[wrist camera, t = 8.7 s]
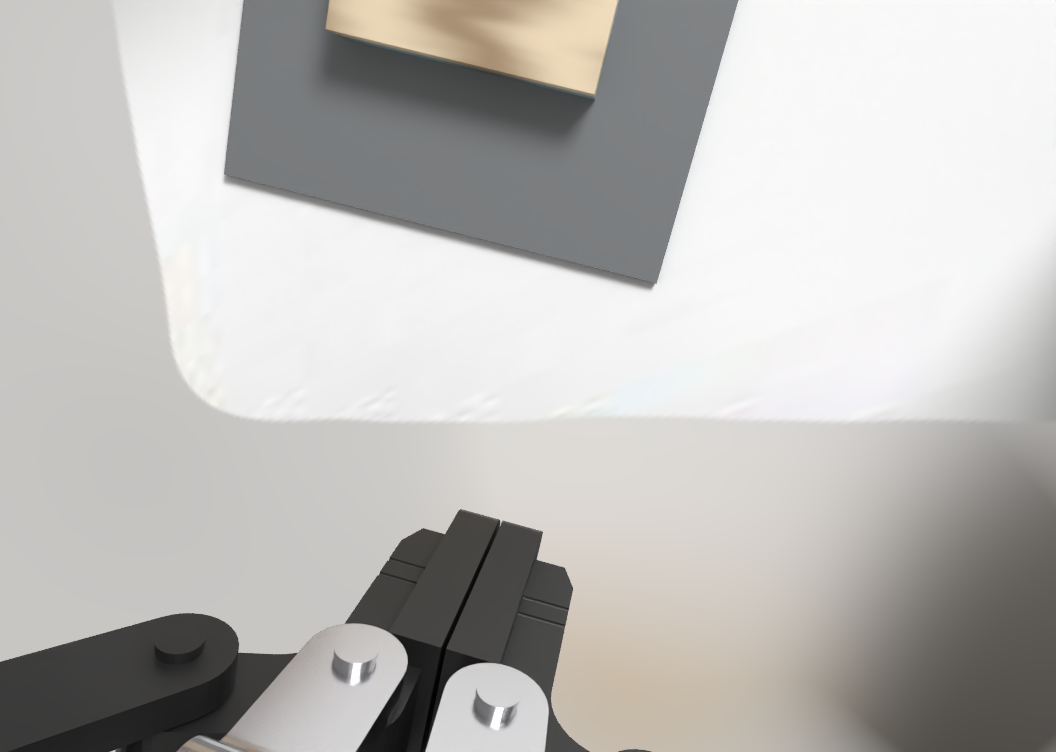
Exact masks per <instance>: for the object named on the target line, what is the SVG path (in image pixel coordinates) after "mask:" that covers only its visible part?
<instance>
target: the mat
mask: <svg viewBox="0 0 1056 752" xmlns="http://www.w3.org/2000/svg"><path fill="white" fill-rule="evenodd" d="M329 1H330V0H244V4H243V13H242V22H241V30H240V39H239V48H238V57H237V66H236V75H235V83H234V92H233V101H232V110H231V119H230V128H229V136H228V145H227V154H226V163H225V172H224V174H225V175H229V176H233V177H237V178H241V179H245V180H248V181H252V182H256V183H260V184H264V185H268V186H272V187H276V188H280V189H284V190H288V191H292V192H296V193H300V194H304V195H308V196H312V197H316V198H320V199H324V200H328V201H332V202H336V203H340V204H344V205H348V206H351V207H355V208H359V209H363V210H367V211H371V212H375V213H379V214H383V215H387V216H391V217H395V218H399V219H403V220H407V221H411V222H415V223H419V224H423V225H427V226H431V227H435V228H439V229H443V230H447V231H451V232H455V233H458V234H462V235H466V236H470V237H474V238H478V239H482V240H486V241H490V242H494V243H498V244H502V245H506V246H510V247H514V248H518V249H522V250H526V251H530V252H534V253H538V254H542V255H546V256H550V257H554V258H558V259H561V260H565V261H569V262H573V263H577V264H581V265H585V266H589V267H593V268H597V269H601V270H605V271H609V272H613V273H617V274H621V275H625V276H629V277H633V278H637V279H641V280H645V281H649V282H653V283H657V280H658V277H659V273H660V270H661V266H662V263H663V259H664V256H665V252H666V249H667V245H668V242H669V238H670V235H671V232H672V228H673V225H674V221H675V218H676V214H677V211H678V207H679V204H680V200H681V197H682V193H683V190H684V186H685V183H686V180H687V176H688V173H689V169H690V166H691V162H692V159H693V155H694V152H695V148H696V145H697V141H698V138H699V135H700V131H701V128H702V124H703V121H704V117H705V114H706V110H707V107H708V103H709V100H710V96H711V93H712V90H713V86H714V83H715V79H716V76H717V72H718V69H719V65H720V62H721V58H722V55H723V51H724V48H725V44H726V41H727V38H728V34H729V31H730V27H731V24H732V20H733V17H734V13H735V10H736V6H737V3H738V0H620V2H619V6H618V10H617V14H616V18H615V23H614V27H613V31H612V35H611V39H610V43H609V47H608V51H607V55H606V59H605V63H604V67H603V71H602V75H601V79H600V83H599V87H598V91H597V95H596V100H594V99H590V98H586V97H581V96H577V95H573V94H569V93H565V92H561V91H557V90H553V89H549V88H544V87H540V86H536V85H532V84H528V83H524V82H520V81H516V80H511V79H507V78H503V77H499V76H495V75H491V74H487V73H483V72H479V71H474V70H470V69H466V68H462V67H458V66H454V65H450V64H446V63H441V62H437V61H433V60H429V59H425V58H421V57H417V56H413V55H409V54H404V53H400V52H396V51H392V50H388V49H384V48H380V47H376V46H371V45H367V44H363V43H359V42H355V41H351V40H347V39H344V38H342V37H340V36H338V35H336V34H334V33H332V32H330V31H328V30H326V29H325V28H326V21H327V14H328V7H329Z"/></svg>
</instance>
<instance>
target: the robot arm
mask: <svg viewBox="0 0 1056 752" xmlns="http://www.w3.org/2000/svg"><path fill="white" fill-rule="evenodd" d="M499 527H500V528H499ZM542 533H543V532H542V531H539V530H534V529H531V528H527V527H524V526H520V525H517V524H513V523H509V522H506V521H503V522H502V523H501V526H500V520H498V519H494V518H491V517H487V516H484V515H480V514H476V513H473V512H469V511H466V510H462V509H460V510H459V511H458V513H457V515H456V516H455V518H454V520H453V522H452V523H451V525H450V527H449V529H448V530H447V532H446V534H442V533H438V532H434V531H430V530H427V529H424V528H423V529H421V530H419V531H418V532H416V533H414V534H412V535H410V536H408V537H407V538H405V539H403V540H401V542H400V543H399V545H398V546H397V548H396V549H395V551H394V552H393V554H392V555H391V557H390V559H389V561H387V562H386V564H385V565H384V567H383V568H382V570H381V571H380V574H379V576H377V577H376V579H375V580H374V582H373V583H372V584H371V586H370V588H369V589H368V590H367V592H366V593H365V595H364V596H363V598H362V599H361V600H360V602H359V603H358V605H357V606H356V608H355V610H354V611H353V612H352V614H351V615H350V617H349V618H348V620H347V621H346V623H345V624H341V625H336V626H333V627H330V628H327V629H325V630H323V631H320V632H319V633H317V634H316V635H314V636H313V637H312V638H311V639H310V640H309V641H308V642H307V643H306V645H304V647H303V648H302V649H301V650H300V651H299V652H298V653H294V654H254V653H238V649H239V642H238V637H237V635H236V633H235V631H234V630H233V629H232V628H231V627H230V626H229V625H228V624H226V623H225V622H223V621H221V620H219V619H217V618H214V617H212V616H208V615H203V614H194V613H192V614H190V613H187V614H186V613H185V614H174V615H169V616H165V617H160V618H157V619H153V620H150V621H146V622H142V623H139V624H135V625H132V626H128V627H124V628H121V629H117V630H114V631H110V632H107V633H103V634H100V635H96V636H92V637H89V638H85V639H81V640H78V641H74V642H71V643H67V644H63V645H60V646H56V647H53V648H49V649H45V650H42V651H38V652H35V653H31V654H27V655H24V656H20V657H16V658H13V659H9V660H5V661H2V662H0V752H110V751H113V750H115V749H116V752H589V751H588V750H586V749H585V748H583V747H582V746H580V745H579V744H577V743H576V742H575V741H574V740H573V739H572V738H571V737H569V736H568V734H567V733H566V732H565V731H564V730H563V729H562V727H561V726H560V724H559V723H558V721H557V719H556V717H555V715H554V712H553V709H552V706H551V691H552V686H553V682H554V676H555V672H556V667H557V663H558V658H559V653H560V648H561V643H562V639H563V634H564V628H565V625H566V620H567V615H568V610H569V605H570V600H571V596H572V591H573V587H572V585H571V583H570V580H569V577H568V575H567V572H566V570H565V568H563V567H559V566H556V565H553V564H549V563H545V562H542V561H538V560H537V555H538V551H539V547H540V543H541V538H542ZM619 752H650V751H646V750H637V749H634V750H633V749H632V750H623V751H619Z"/></svg>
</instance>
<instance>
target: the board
mask: <svg viewBox="0 0 1056 752" xmlns="http://www.w3.org/2000/svg"><path fill="white" fill-rule="evenodd" d="M619 2H620V0H330V1H329V7H328V14H327V21H326V28H325V29H326V30H328V31H330V32H332V33H334V34H336V35H338V36H340V37H342V38H344V39H347V40H351V41H355V42H359V43H363V44H367V45H371V46H376V47H380V48H384V49H388V50H392V51H396V52H400V53H404V54H409V55H413V56H417V57H421V58H425V59H429V60H433V61H437V62H441V63H446V64H450V65H454V66H458V67H462V68H466V69H470V70H474V71H479V72H483V73H487V74H491V75H495V76H499V77H503V78H507V79H511V80H516V81H520V82H524V83H528V84H532V85H536V86H540V87H544V88H549V89H553V90H557V91H561V92H565V93H569V94H573V95H577V96H581V97H586V98H590V99H594V100H596V95H597V91H598V87H599V83H600V79H601V75H602V71H603V67H604V63H605V59H606V55H607V51H608V47H609V43H610V39H611V35H612V31H613V27H614V23H615V18H616V14H617V10H618V6H619Z"/></svg>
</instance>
